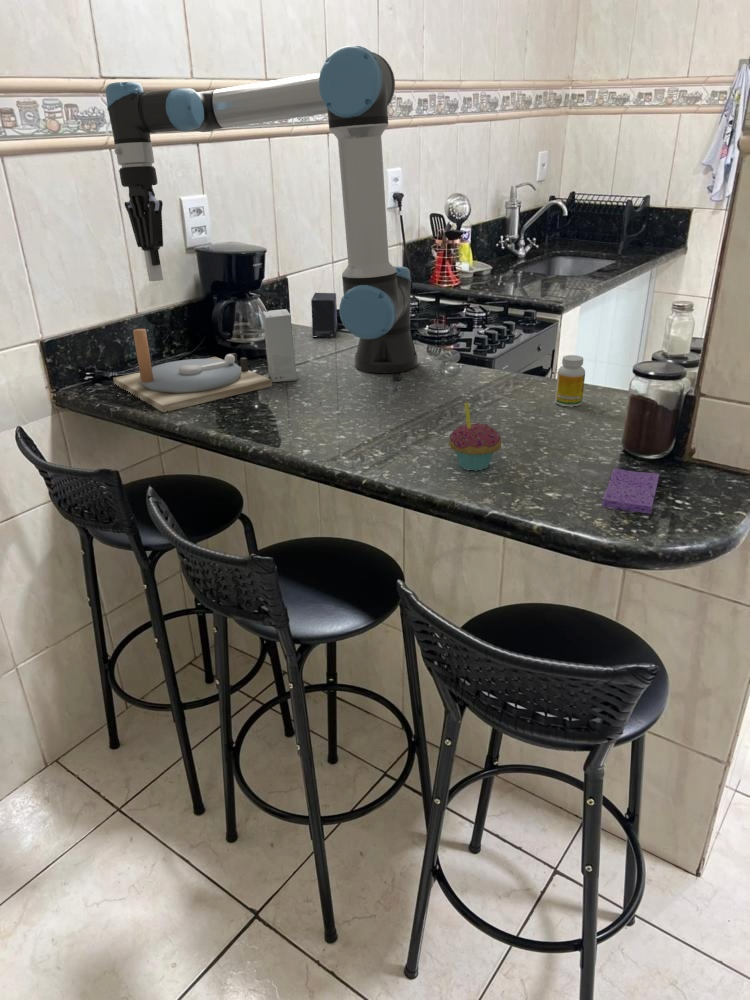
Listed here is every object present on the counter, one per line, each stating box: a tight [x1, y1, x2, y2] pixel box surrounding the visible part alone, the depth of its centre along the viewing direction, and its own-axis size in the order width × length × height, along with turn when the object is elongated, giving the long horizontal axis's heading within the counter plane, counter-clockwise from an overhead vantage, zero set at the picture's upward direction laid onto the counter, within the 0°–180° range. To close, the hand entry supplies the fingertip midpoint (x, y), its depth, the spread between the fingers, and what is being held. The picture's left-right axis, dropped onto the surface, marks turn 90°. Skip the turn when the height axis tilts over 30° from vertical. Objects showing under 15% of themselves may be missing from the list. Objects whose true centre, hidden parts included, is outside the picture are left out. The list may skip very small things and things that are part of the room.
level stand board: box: [112, 352, 273, 413], centre depth 166 cm, size 26×26×4 cm
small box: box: [310, 292, 338, 338], centre depth 206 cm, size 11×6×10 cm, turn 179°
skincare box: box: [262, 308, 298, 383], centre depth 168 cm, size 8×6×15 cm
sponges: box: [601, 468, 660, 515], centre depth 113 cm, size 7×13×2 cm, turn 157°
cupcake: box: [448, 398, 502, 471], centre depth 121 cm, size 9×8×12 cm
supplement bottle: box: [554, 354, 586, 408], centre depth 149 cm, size 5×5×10 cm
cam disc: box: [132, 328, 241, 393], centre depth 163 cm, size 22×22×12 cm
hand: (156, 280), depth 167 cm, fingers closed
